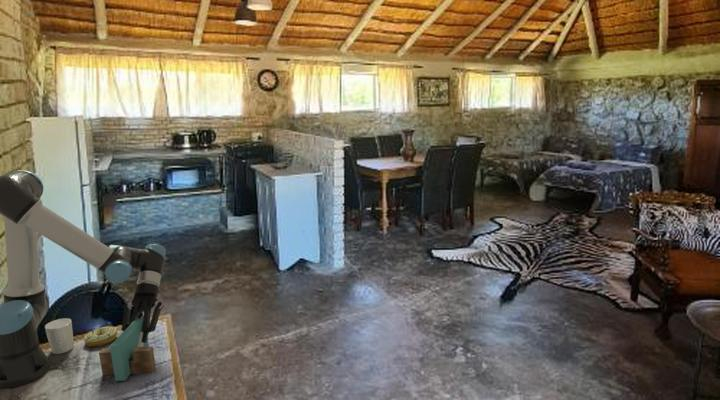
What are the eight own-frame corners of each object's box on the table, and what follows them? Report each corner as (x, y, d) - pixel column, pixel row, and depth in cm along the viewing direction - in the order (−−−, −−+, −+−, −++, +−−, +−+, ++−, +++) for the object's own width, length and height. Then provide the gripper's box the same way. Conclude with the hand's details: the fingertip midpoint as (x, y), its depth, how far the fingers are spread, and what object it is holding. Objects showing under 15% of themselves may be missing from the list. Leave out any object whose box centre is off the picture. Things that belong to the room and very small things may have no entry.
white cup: (80, 343, 169) (76, 318, 166) (65, 355, 161) (60, 329, 159) (60, 343, 169) (56, 318, 167) (44, 354, 162) (39, 328, 160)
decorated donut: (88, 337, 174) (86, 327, 173) (119, 331, 177) (118, 322, 176) (81, 350, 164) (80, 341, 163) (115, 344, 168) (114, 335, 167)
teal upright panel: (140, 350, 162) (135, 318, 159) (149, 349, 162) (144, 318, 159) (115, 381, 144) (109, 346, 142) (125, 380, 144) (119, 345, 142)
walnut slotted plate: (102, 375, 149) (98, 352, 147) (106, 370, 151) (102, 348, 149) (152, 373, 149) (149, 350, 147) (155, 368, 152) (152, 346, 150)
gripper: (174, 289, 169) (161, 354, 157) (129, 290, 169) (113, 356, 156) (166, 281, 163) (153, 348, 150) (120, 282, 162) (103, 350, 150)
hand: (133, 352), depth 153 cm, fingers closed on teal upright panel, 3 cm apart
